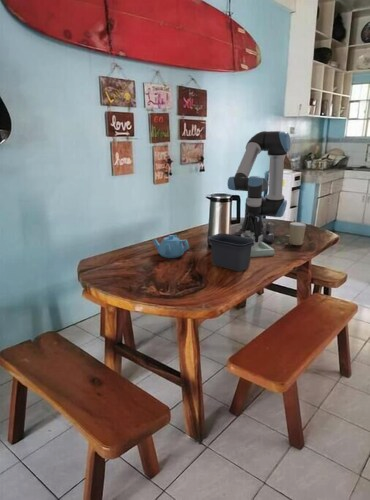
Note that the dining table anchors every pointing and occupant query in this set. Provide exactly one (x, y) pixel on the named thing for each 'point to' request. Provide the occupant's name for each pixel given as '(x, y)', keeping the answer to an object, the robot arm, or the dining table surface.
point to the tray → (262, 250)
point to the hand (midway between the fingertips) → (251, 244)
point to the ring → (250, 235)
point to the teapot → (171, 246)
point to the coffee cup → (296, 233)
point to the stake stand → (268, 235)
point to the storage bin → (231, 251)
